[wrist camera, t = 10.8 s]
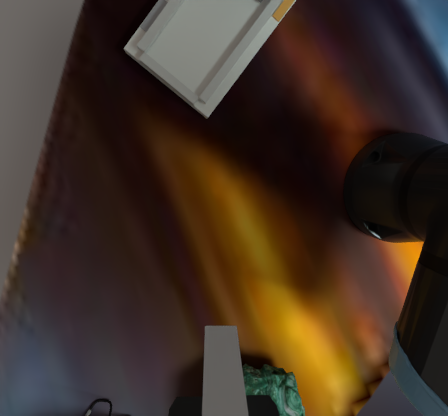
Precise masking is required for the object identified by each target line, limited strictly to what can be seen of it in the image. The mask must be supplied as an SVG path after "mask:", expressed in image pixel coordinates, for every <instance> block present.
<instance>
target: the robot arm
mask: <svg viewBox="0 0 448 416" xmlns="http://www.w3.org/2000/svg"><path fill="white" fill-rule="evenodd" d="M344 202H345V207H346V210H347V212H348V215H349V217H350V218H351V220H352V221H353V223H354V224H355V225H356V226H357V227H358V228H359V229H360V230H361V231H363V232H364V233H366V234H367V235H370V236H372V237H374V238H377V239H379V240H382V241H387V242H393V243H402V242H424V244H423V247H422V251H421V254H420V257H419V260H418V262H417V265H416V268H415V271H414V274H413V277H412V281H411V284H410V287H409V290H408V293H407V296H406V299H405V302H404V306H403V308H402V311H401V314H400V317H399V320H398V321H397V322H396V324H395V326H394V331H393V334H394V337H393V342H392V346H391V349H390V353H389V365H390V369H391V372H392V374H393V376H394V377H395V381H396V383H397V385H398V386H399V388H400V389H401V391H402V392H403V393H404V395H405V396H406V397H407V398H408V400H409V401H410V402H411V403H412V404H413V406H414V407H415V408H416V409H417V410H419V412H420V413H421V414H422V415H424V416H448V144H447V143H444V142H441V141H438V140H435V139H432V138H430V137H427V136H424V135H421V134H416V133H397V134H389V135H385V136H382V137H379V138H377V139H375V140H373V141H371V142H370V143H369V144H367V145H366V146H365V147H364V148H363V149H362V150H361V151H360V152H359V153H358V154H357V155H356V157H355V158H354V159H353V161H352V163H351V165H350V167H349V169H348V171H347V174H346V178H345V182H344ZM168 416H279V412H278V408H277V405H276V404H275V403H274V401H273V400H272V398H271V397H270V396H269V395H246V393H245V385H244V378H243V370H242V363H241V356H240V348H239V341H238V333H237V326H205V346H204V373H203V397H177V398H176V399H175V401H174V402H173V404H172V406H171V407H170V409H169V415H168Z"/></svg>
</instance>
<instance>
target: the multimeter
mask: <svg viewBox="0 0 448 416" xmlns="http://www.w3.org/2000/svg"><path fill="white" fill-rule="evenodd" d="M97 402H108V403H110V412H109V416H111V412H112V403H111V401H109V400H103V399H100V400H97V401H95V402H94V403H93V404H92V406H91V408H90V409H89V410H88V412H87V413H86V415H85V416H89V415H90V413H91V409H92V408H93V406H94V405H95V404H96V403H97Z"/></svg>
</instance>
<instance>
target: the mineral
mask: <svg viewBox="0 0 448 416" xmlns="http://www.w3.org/2000/svg"><path fill="white" fill-rule="evenodd" d="M242 370H243V378H244V385H245V393H246V395H269V396H270V397H271V398H272V400H273V401H274V403H275V404H276V405H277V408H278V412H279V416H305V409H304V406H302V403H301V397H300V395H299V393H298V389H297V383H296V379H295V376H294V374H293V372H289V373H286V372H285V370H284V369H283V368H277V367H272V366H269V365H268V364H265V365H263V367H262V368H261V369H255V368H253V367H251V366H249V365H247V364H244V365H243V367H242Z"/></svg>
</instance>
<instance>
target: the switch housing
mask: <svg viewBox="0 0 448 416" xmlns="http://www.w3.org/2000/svg"><path fill="white" fill-rule="evenodd" d="M295 1H296V0H263V1H262V2H261V3H260V2H259V1H258V0H158V2H157V3H156V5H155V6H154V7H153V9H152V10H151V11H150V13H149V14H148V16H147V17H146V18H145V20H144V21H143V22H142V24H141V25H140V27H139V28H138V29H137V31H136V32H135V34H134V35H133V36H132V38H131V39H130V40H129V42H128V43H127V45H126V46H125V47H124V50H125V52H126V53H127V54H128V55H129V56H130V57H132V58H133V59H134V60H135V61H137V62H138V63H139V64H140V65H141V66H143V67H144V68H145V69H146V70H148V71H149V72H150V73H151V74H152V75H154V76H155V77H156V78H157V79H159V80H160V81H161V82H162V83H163V84H165V85H166V86H167V87H168V88H170V89H171V90H172V91H173V92H174V93H176V94H177V95H178V96H179V97H181V98H182V99H183V100H184V101H185V102H187V103H188V104H189V105H190V106H192V107H193V108H194V109H195V110H196V111H198V112H199V113H200V114H201V115H203V116H204V117H205V118H206V119H207V118H208V117H209V116H210V114H211V113H212V112H213V110H214V109H215V108H216V106H217V105H218V104H219V102H220V101H221V100H222V98H223V97H224V96H225V94H226V93H227V92H228V90H229V89H230V88H231V86H232V85H233V84H234V82H235V81H236V80H237V78H238V77H239V76H240V74H241V73H242V72H243V70H244V69H245V68H246V66H247V65H248V64H249V62H250V61H251V60H252V58H253V57H254V56H255V54H256V53H257V52H258V50H259V49H260V48H261V46H262V45H263V44H264V42H265V41H266V40H267V38H268V37H269V36H270V34H271V33H272V32H273V30H274V29H275V28H276V26H277V25H278V24H279V22H280V21H281V20H282V18H283V17H284V16H285V14H286V13H287V12H288V10H289V9H290V8H291V6H292V5H293V4H294V2H295Z"/></svg>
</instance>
